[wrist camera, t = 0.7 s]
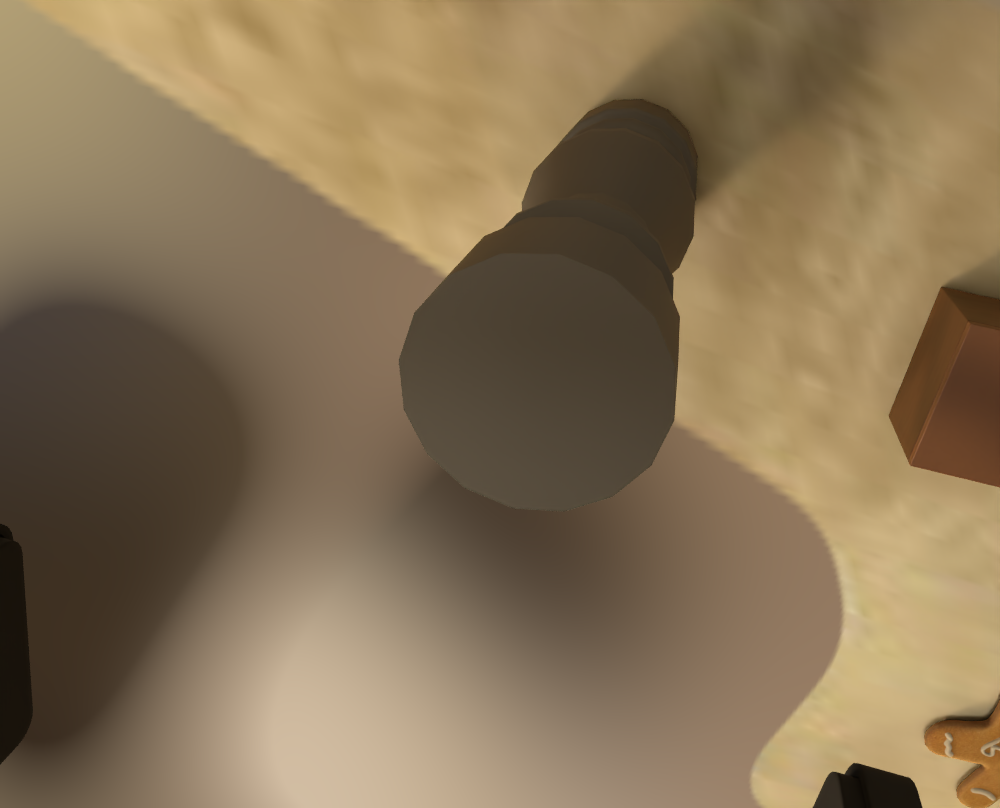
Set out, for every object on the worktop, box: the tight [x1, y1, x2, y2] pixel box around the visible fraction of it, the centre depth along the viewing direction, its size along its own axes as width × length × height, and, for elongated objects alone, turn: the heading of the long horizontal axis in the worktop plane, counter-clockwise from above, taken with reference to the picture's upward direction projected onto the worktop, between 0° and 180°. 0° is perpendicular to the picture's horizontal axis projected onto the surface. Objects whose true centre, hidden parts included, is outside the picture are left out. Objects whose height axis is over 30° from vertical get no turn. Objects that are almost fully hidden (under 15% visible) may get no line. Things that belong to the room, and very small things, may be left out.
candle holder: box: [399, 99, 698, 511], centre depth 29 cm, size 6×6×25 cm
